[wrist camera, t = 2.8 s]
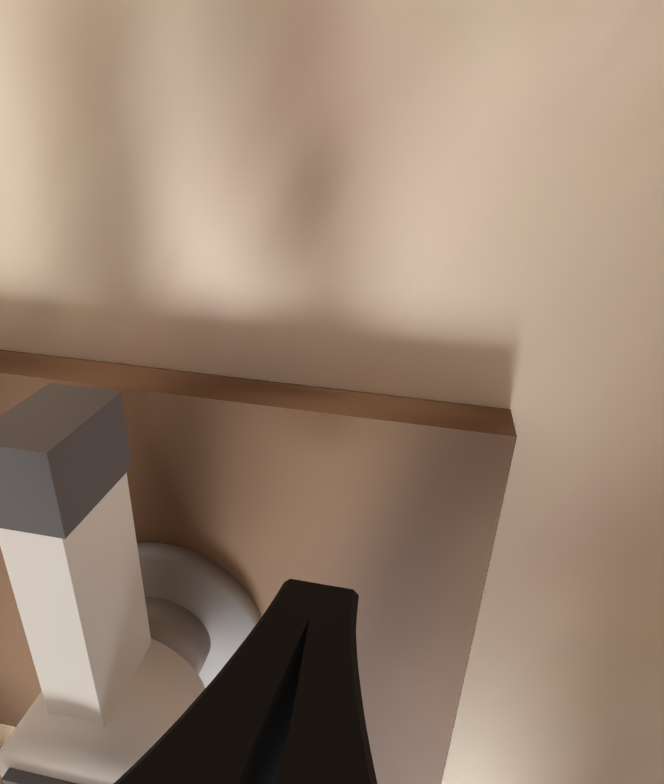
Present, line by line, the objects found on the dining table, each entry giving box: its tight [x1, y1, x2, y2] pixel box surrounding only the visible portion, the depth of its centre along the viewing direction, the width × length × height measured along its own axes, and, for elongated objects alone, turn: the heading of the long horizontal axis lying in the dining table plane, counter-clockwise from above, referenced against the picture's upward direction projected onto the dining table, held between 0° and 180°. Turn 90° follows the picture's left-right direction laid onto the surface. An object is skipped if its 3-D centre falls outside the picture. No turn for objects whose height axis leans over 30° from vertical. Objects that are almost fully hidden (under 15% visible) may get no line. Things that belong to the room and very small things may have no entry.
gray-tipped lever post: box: [0, 383, 205, 784], centre depth 11 cm, size 4×10×3 cm, turn 178°
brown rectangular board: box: [0, 350, 517, 784], centre depth 15 cm, size 16×14×3 cm
